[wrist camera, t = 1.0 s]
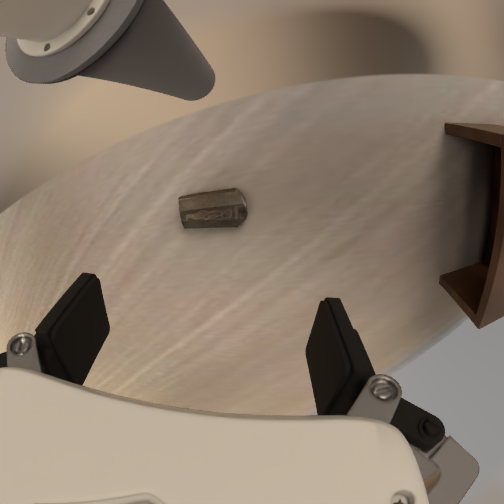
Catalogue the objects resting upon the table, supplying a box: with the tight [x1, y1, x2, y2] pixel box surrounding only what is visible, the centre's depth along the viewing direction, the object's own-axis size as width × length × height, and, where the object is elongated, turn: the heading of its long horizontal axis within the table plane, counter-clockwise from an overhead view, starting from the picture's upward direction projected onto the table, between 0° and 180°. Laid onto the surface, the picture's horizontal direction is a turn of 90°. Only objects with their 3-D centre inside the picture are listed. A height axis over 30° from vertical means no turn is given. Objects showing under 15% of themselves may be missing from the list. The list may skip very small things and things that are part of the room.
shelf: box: [439, 123, 504, 329], centre depth 21 cm, size 20×10×10 cm, turn 12°
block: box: [179, 188, 247, 229], centre depth 25 cm, size 4×6×2 cm, turn 95°
